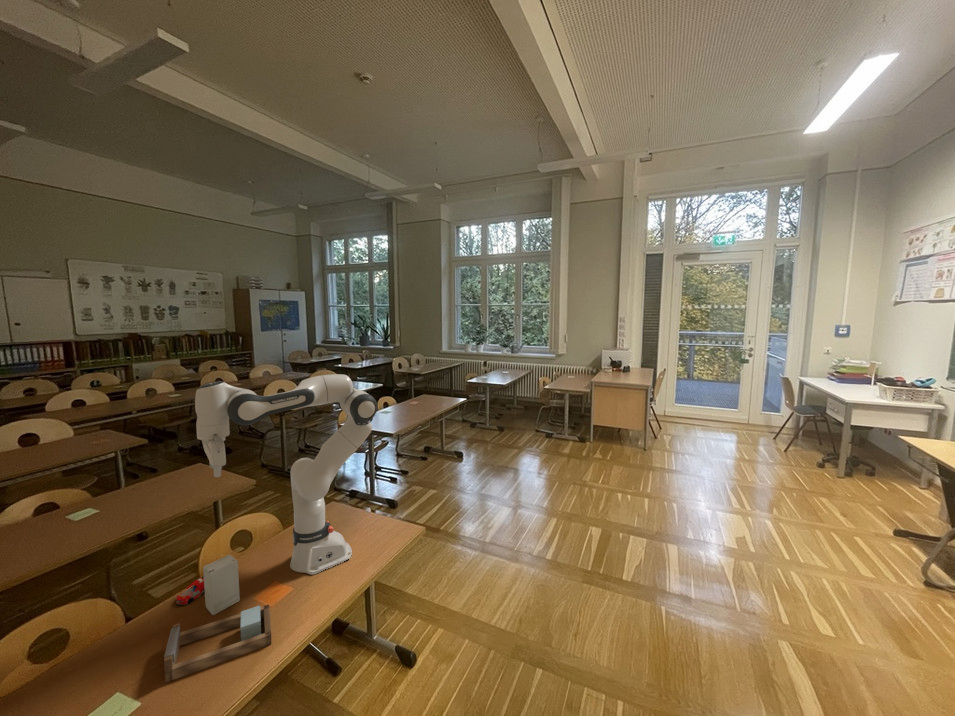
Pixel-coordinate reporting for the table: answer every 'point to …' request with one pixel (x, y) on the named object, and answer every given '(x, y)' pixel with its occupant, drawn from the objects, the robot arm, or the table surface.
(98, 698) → the table surface
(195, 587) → the race car
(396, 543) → the table surface
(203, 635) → the bay
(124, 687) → the table surface
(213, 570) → the skincare box
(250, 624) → the grey boxy piece
